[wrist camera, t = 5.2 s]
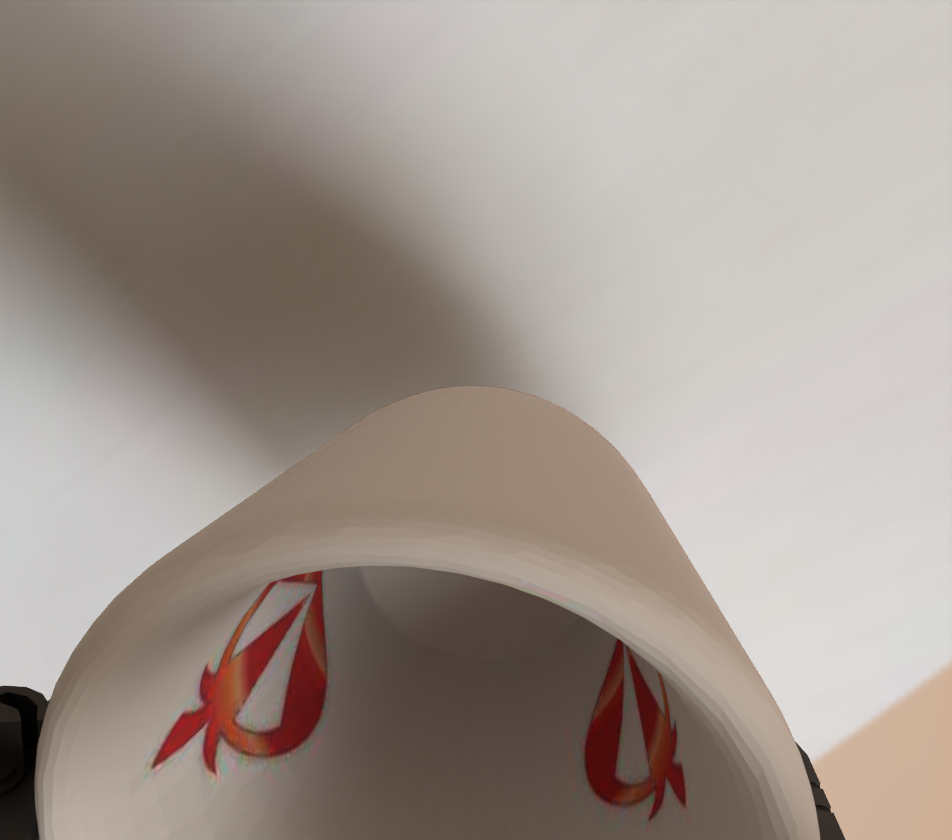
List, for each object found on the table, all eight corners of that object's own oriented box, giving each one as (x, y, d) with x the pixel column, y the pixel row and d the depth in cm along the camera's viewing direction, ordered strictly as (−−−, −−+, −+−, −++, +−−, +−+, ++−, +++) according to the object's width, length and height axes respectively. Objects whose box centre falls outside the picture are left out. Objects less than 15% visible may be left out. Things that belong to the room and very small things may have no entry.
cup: (627, 820, 16) (688, 1355, 9) (287, 766, 17) (73, 1226, 9) (720, 360, 13) (946, 589, 6) (295, 312, 14) (-27, 461, 6)
